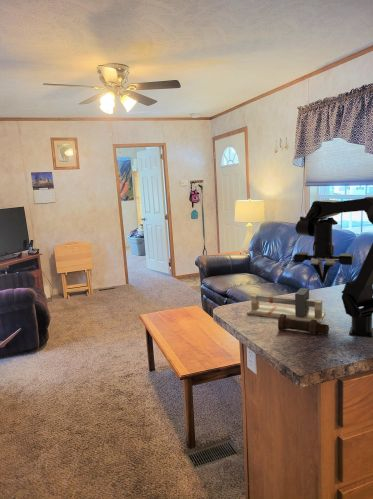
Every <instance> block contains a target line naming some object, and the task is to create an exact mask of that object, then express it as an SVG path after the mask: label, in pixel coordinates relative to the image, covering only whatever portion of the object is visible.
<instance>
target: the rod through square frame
mask: <svg viewBox="0 0 373 499" xmlns="http://www.w3.org/2000/svg"><path fill="white" fill-rule="evenodd" d="M250 301H251V302H250V304H251V308H250V309H249V310H248V311H246V315H252V316H254V315H255V316H259V317H260V316H263V317H269V318H278V319H279V316H280V315H281V314H286V318H289V319H293V320H298V321H306V322H310V321H311V320H312V319H313V320H316V321H317V322H318V324H321V322H322V320H323V319H324V318H325V315H326V313H327V312H326V311H323V300H322V299H310V298H309V299H305V301H306V306H309V308H310V307H311V308H314V310H311V309H309V311H308V312H307V314H306V315H305V317H299V316H295V308H293V307H283V306H275V305H272V306H271V305H265V304H264V305H263V304H260V302H261V303H262V302H263V303H269V304H280V305H281V304H282V305H291V306H295V297H289V296H279V295H278V296H277V295H272V294H271V295H268V294H259V293H253V294H252V295H250Z"/></svg>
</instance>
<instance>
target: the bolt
mask: <svg viewBox="0 0 373 499" xmlns="http://www.w3.org/2000/svg"><path fill="white" fill-rule="evenodd" d="M277 330H278V331H279V332H284V331H285V330H295V331H302V332H305V333H307V332H308V334H309V335H311V336H316V335H317V334H320V335H327V336H328V334H329V330H330V325H329V324H325V323H318V322H317V321H316V320H313V319H312V320H311V321H310V322H309V321H301V320H293V319H289V318H286V314H281V315H280V316H279V318H278V321H277Z"/></svg>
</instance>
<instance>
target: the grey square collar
mask: <svg viewBox="0 0 373 499" xmlns="http://www.w3.org/2000/svg"><path fill="white" fill-rule="evenodd" d="M294 298H295V305H294V307H295V308H294V309H295V316H299V317H305V315H306V314H307V312H308V311H309V310H310V307H309V306H306V301H305V299H310V288H304V287H303V288H302V287H300V288H299V289H298V290H297V291H296V293H294Z"/></svg>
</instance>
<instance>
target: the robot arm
mask: <svg viewBox="0 0 373 499" xmlns="http://www.w3.org/2000/svg"><path fill="white" fill-rule="evenodd" d="M363 211H364V213H365V214H366V217H367V220H368V221H369V222H370V223H371V225H373V196H365V197H364V198H357V199H356V198H355V199H348V200H336V199H322V200H320V199H319V200H314V201H313V202H312V204H311V206H310V208H309V210H308V212H307V213H306V216H305V215H302V216H300V217H299V220H298V221H297V223H296V225H295V231H296V234H297V235H299V236H307V237H313V243H312V251H313V254H309V252H307V251H305V252H304V251H300V252H299V251H298V252H296V253H295V254H294V255H293V263H295V264H296V263H297V264H303V263H305V261H310V266H312V267H313V269H314V270H315V271H316V273H317V275H318V278H319V280H320V282H321V284H325V282H326V281H327V276H328V274H329V271H330V269H331V268H332V267H334V266H335V265H336V262H338V263H339V264H340V265H343V266H352V265H353V264H354V262H355V255H354V254H353V253H343V252H342V253H341V252H340V254H339V255H335V246H334V244H333V226H334V225H338V224H339V223H338V221H337V220H335V219H334V216H338V215H340V214H342V213H352V212H354V213H355V212H363ZM371 243H372V244H371V246H370V248H369V250H368V252H367V255H366V257H365V259H364V261H363V264H362V266H361V268H360V270H359V271H358V273H357V277H356V278H355V280H350V281H347V282H345V285H344V288H343V290H342V291H340V292H341V294H342V295H341V300H342V304H343V307H344V311H345V314H346V315H348V316H349V317H350V318H351V327H350V329H349V330H348V334H349V335H353V336H360V337H368V338H373V242H371ZM323 262H325V263H324V265H323Z"/></svg>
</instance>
